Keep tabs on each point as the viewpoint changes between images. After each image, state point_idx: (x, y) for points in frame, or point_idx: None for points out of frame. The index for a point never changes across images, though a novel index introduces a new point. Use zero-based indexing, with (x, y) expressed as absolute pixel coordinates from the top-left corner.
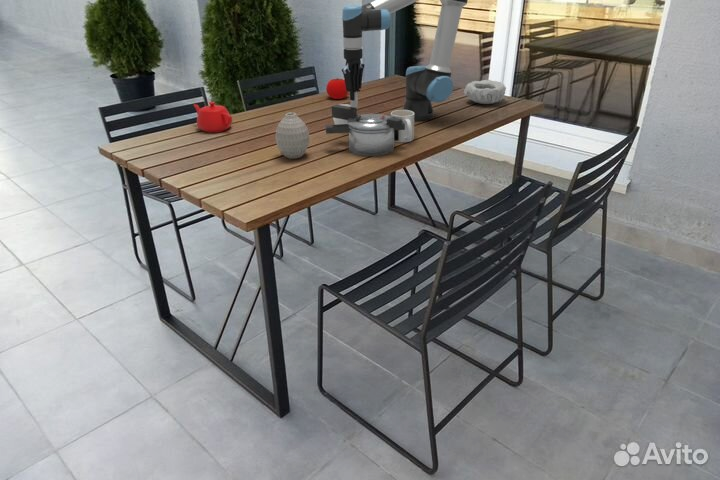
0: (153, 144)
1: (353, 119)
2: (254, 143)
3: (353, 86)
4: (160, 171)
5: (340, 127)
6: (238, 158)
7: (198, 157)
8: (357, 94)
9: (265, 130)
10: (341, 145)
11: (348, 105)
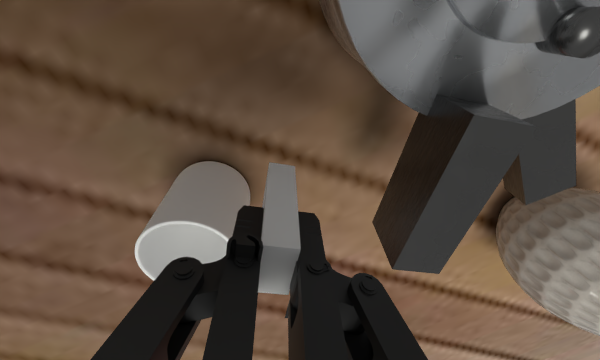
0: None
1: (515, 84)
2: (421, 319)
3: (341, 321)
4: (592, 354)
5: (572, 121)
6: (532, 300)
7: (519, 349)
8: (266, 226)
9: None
10: (404, 119)
11: (140, 252)
